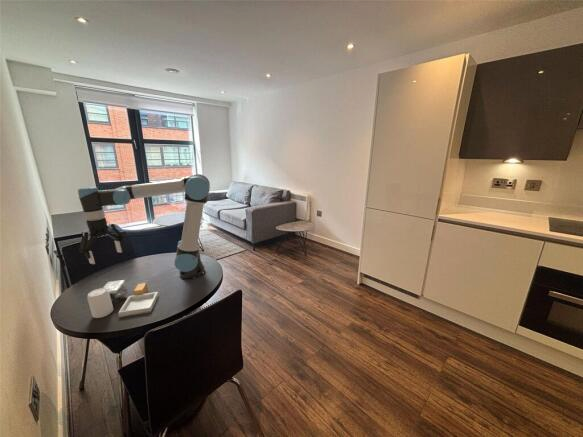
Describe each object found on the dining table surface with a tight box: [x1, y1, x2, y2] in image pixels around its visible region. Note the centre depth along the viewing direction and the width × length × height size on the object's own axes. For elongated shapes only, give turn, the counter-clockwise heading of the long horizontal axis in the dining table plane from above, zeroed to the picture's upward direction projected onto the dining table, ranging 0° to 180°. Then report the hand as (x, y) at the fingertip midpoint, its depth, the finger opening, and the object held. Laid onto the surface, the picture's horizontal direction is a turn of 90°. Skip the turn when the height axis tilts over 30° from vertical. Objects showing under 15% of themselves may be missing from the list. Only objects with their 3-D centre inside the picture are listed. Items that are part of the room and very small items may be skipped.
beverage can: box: [86, 287, 114, 319], centre depth 112 cm, size 8×8×12 cm
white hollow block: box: [102, 279, 129, 302], centre depth 123 cm, size 10×10×8 cm
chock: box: [133, 282, 149, 295], centre depth 127 cm, size 4×7×5 cm, turn 15°
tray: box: [117, 291, 159, 318], centre depth 118 cm, size 14×14×3 cm
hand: (106, 257), depth 121 cm, fingers open, 13 cm apart
